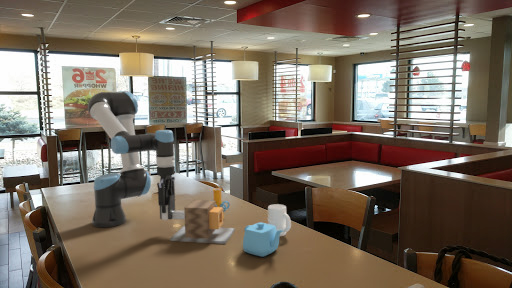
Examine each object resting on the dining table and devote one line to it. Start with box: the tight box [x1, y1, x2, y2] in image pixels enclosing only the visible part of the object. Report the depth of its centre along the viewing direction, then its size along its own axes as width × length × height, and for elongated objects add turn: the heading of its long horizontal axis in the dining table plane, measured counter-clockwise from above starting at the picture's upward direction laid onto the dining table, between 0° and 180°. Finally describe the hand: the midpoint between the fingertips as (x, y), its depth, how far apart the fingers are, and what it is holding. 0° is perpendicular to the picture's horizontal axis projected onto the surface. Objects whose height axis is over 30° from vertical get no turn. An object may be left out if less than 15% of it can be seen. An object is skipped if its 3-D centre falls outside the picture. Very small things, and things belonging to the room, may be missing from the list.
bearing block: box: [169, 199, 235, 245], centre depth 164 cm, size 24×16×14 cm, turn 80°
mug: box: [267, 203, 292, 237], centre depth 164 cm, size 8×12×12 cm
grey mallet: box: [159, 193, 220, 220], centre depth 164 cm, size 26×5×10 cm, turn 80°
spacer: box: [209, 206, 224, 229], centre depth 163 cm, size 4×7×7 cm, turn 170°
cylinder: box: [210, 187, 230, 220], centre depth 186 cm, size 12×10×15 cm
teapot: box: [242, 221, 284, 258], centre depth 145 cm, size 12×18×12 cm
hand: (167, 217), depth 167 cm, fingers closed on grey mallet, 5 cm apart
